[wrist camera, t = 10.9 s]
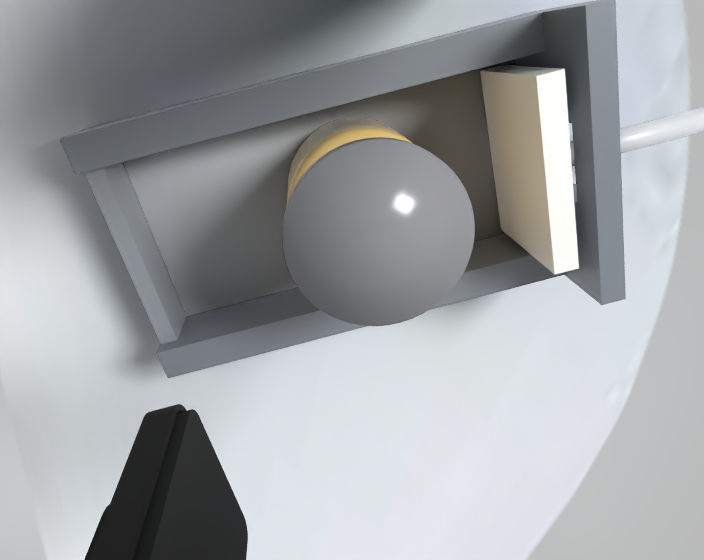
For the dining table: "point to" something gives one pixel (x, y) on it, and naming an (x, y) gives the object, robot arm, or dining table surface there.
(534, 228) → the pusher
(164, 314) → the grey open rectangular box
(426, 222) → the honey jar
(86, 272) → the dining table surface
